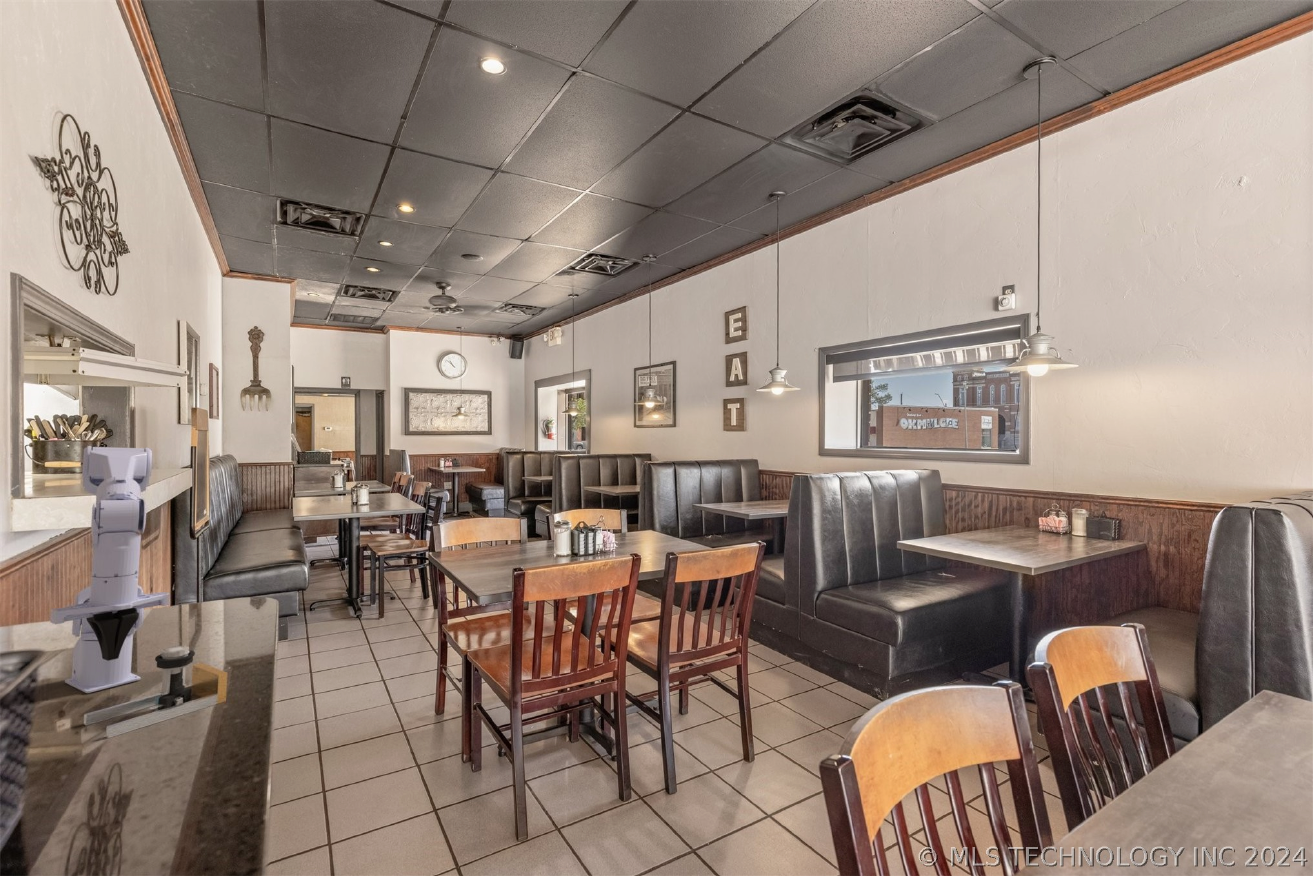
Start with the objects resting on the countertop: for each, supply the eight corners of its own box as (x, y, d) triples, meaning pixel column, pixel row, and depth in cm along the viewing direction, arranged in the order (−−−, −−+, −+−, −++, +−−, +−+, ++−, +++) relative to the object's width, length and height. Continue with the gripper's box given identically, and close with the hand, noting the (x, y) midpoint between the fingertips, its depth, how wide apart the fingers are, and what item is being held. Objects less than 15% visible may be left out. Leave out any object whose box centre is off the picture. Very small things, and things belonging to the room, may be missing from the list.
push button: (164, 719, 99) (167, 658, 99) (135, 716, 100) (139, 655, 100) (199, 703, 106) (203, 645, 106) (172, 700, 107) (176, 643, 107)
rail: (83, 724, 97) (85, 692, 97) (200, 690, 111) (201, 663, 111) (108, 738, 93) (110, 705, 93) (225, 701, 107) (227, 672, 107)
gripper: (66, 585, 90) (60, 677, 89) (180, 570, 102) (175, 650, 102) (46, 578, 93) (41, 667, 93) (159, 565, 106) (154, 643, 105)
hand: (110, 658), depth 98 cm, fingers closed
